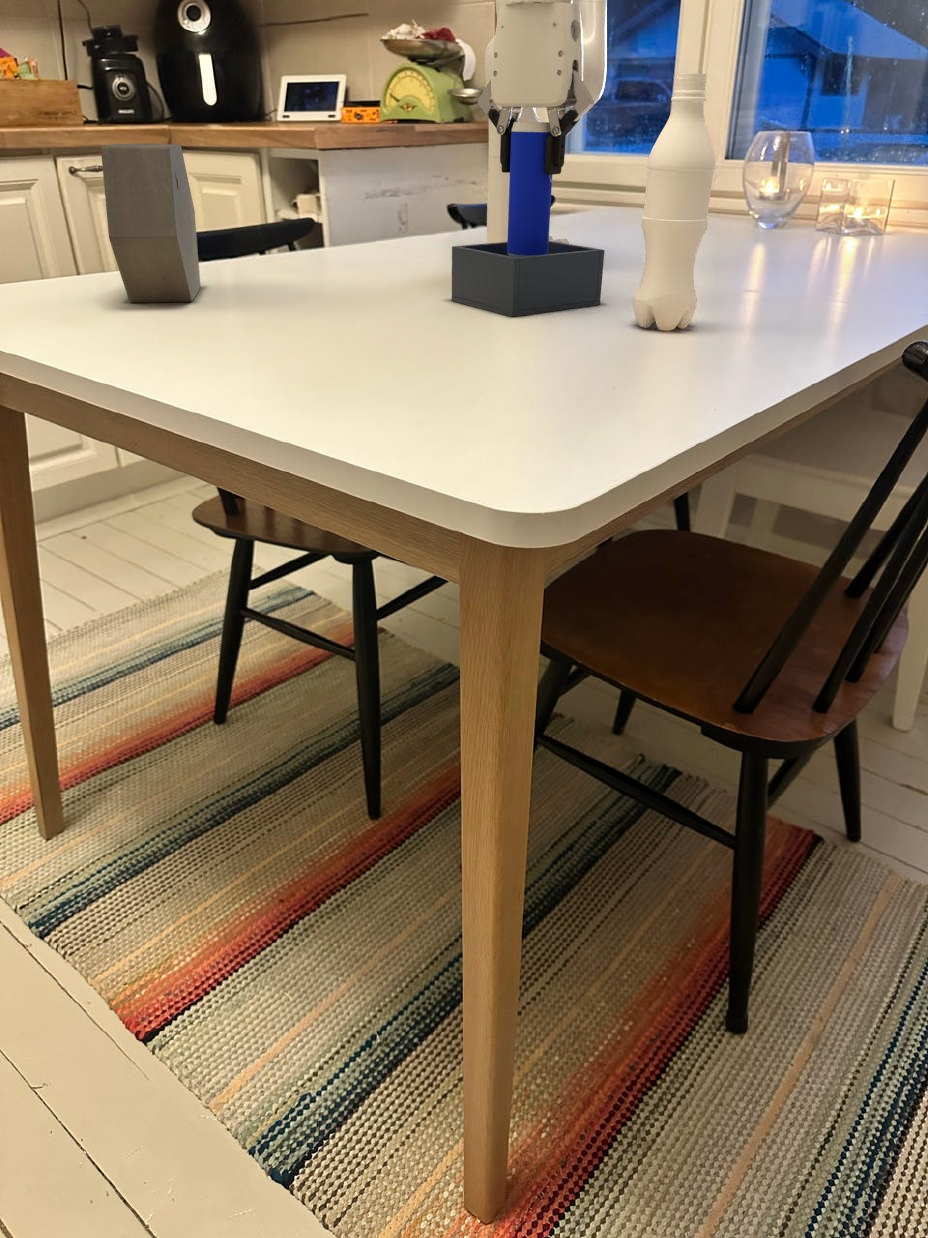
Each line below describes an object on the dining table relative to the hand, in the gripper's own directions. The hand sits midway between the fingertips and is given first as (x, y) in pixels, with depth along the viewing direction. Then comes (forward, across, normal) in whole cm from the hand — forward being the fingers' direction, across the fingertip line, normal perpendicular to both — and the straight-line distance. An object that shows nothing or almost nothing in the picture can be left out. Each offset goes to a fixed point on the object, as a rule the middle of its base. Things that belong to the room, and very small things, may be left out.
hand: (531, 171), depth 107 cm
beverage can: (+10, 0, 0) cm, 10 cm away
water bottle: (+15, -20, +4) cm, 26 cm away
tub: (+15, 0, 0) cm, 15 cm away
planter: (+15, +41, +23) cm, 50 cm away
